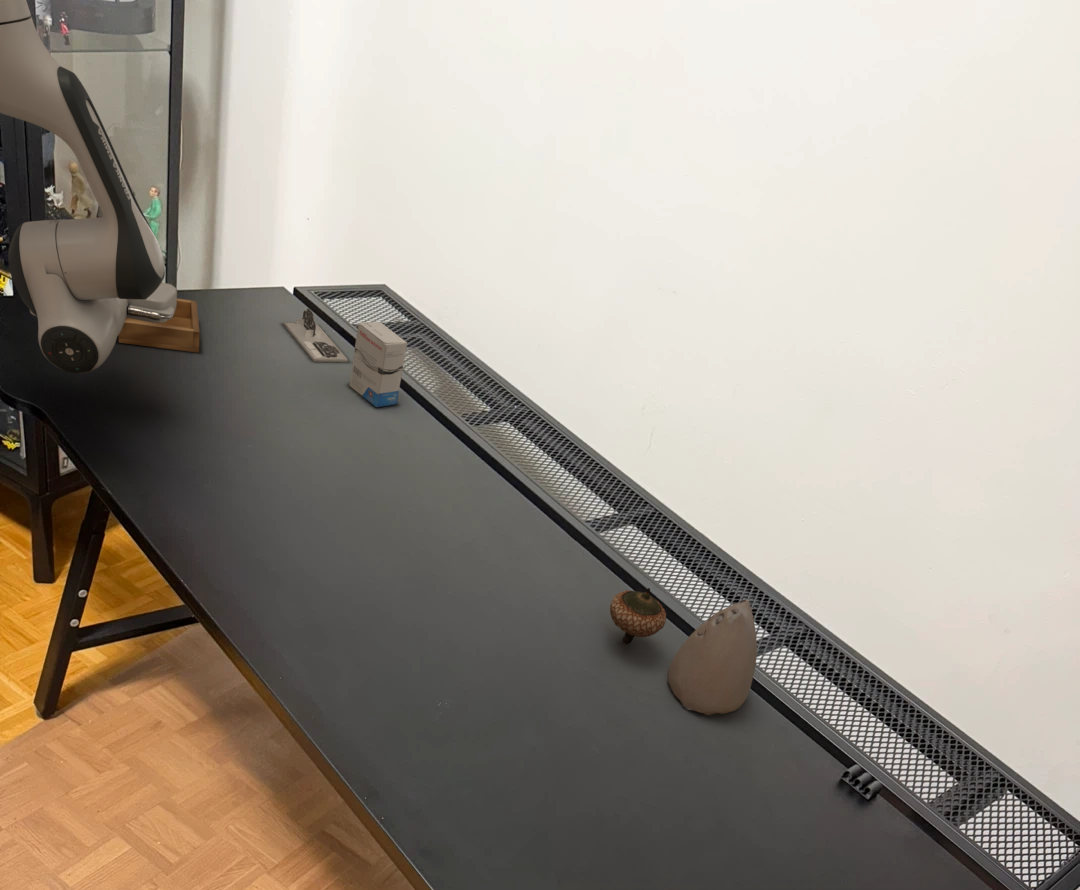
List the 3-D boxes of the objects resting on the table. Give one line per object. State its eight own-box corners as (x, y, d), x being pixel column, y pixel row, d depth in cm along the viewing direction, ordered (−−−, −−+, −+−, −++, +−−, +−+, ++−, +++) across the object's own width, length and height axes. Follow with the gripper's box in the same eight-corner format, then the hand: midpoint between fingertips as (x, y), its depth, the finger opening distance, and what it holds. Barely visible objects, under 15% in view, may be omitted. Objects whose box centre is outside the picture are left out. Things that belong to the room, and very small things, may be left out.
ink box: (398, 405, 183) (409, 342, 175) (375, 408, 180) (386, 344, 172) (370, 382, 187) (380, 320, 179) (347, 385, 183) (356, 321, 176)
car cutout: (284, 325, 195) (286, 301, 192) (316, 325, 199) (319, 303, 196) (314, 361, 187) (316, 338, 184) (347, 361, 191) (350, 338, 188)
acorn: (610, 663, 142) (633, 606, 135) (589, 626, 147) (610, 569, 141) (661, 662, 145) (685, 606, 139) (639, 625, 150) (661, 570, 144)
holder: (118, 342, 173) (118, 321, 171) (119, 311, 182) (119, 289, 179) (198, 352, 178) (199, 331, 176) (195, 321, 187) (196, 301, 184)
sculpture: (662, 653, 147) (698, 567, 137) (738, 670, 149) (780, 587, 139) (668, 710, 137) (708, 623, 127) (750, 728, 139) (795, 643, 129)
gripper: (171, 299, 145) (184, 265, 155) (14, 266, 139) (39, 233, 149) (170, 341, 149) (183, 305, 159) (18, 311, 143) (41, 276, 153)
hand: (112, 270), depth 154 cm, fingers closed on supplement bottle, 5 cm apart
